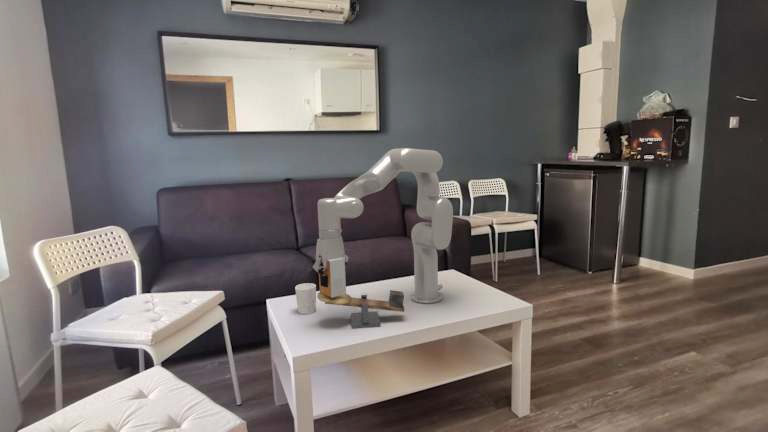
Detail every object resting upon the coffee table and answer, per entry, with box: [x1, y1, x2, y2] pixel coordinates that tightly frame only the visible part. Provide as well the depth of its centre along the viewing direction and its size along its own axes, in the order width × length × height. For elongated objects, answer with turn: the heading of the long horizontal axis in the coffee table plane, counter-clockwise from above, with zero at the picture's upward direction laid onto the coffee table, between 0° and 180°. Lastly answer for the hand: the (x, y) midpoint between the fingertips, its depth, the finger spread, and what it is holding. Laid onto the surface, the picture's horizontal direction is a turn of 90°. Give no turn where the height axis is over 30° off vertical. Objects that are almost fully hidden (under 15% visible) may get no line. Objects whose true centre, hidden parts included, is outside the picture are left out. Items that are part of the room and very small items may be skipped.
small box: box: [318, 257, 347, 298], centre depth 144 cm, size 8×6×13 cm
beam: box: [316, 290, 405, 313], centre depth 147 cm, size 31×12×6 cm, turn 95°
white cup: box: [294, 282, 317, 315], centre depth 158 cm, size 8×8×10 cm
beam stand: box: [350, 294, 382, 329], centre depth 147 cm, size 10×12×8 cm
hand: (332, 283), depth 145 cm, fingers closed on small box, 7 cm apart
